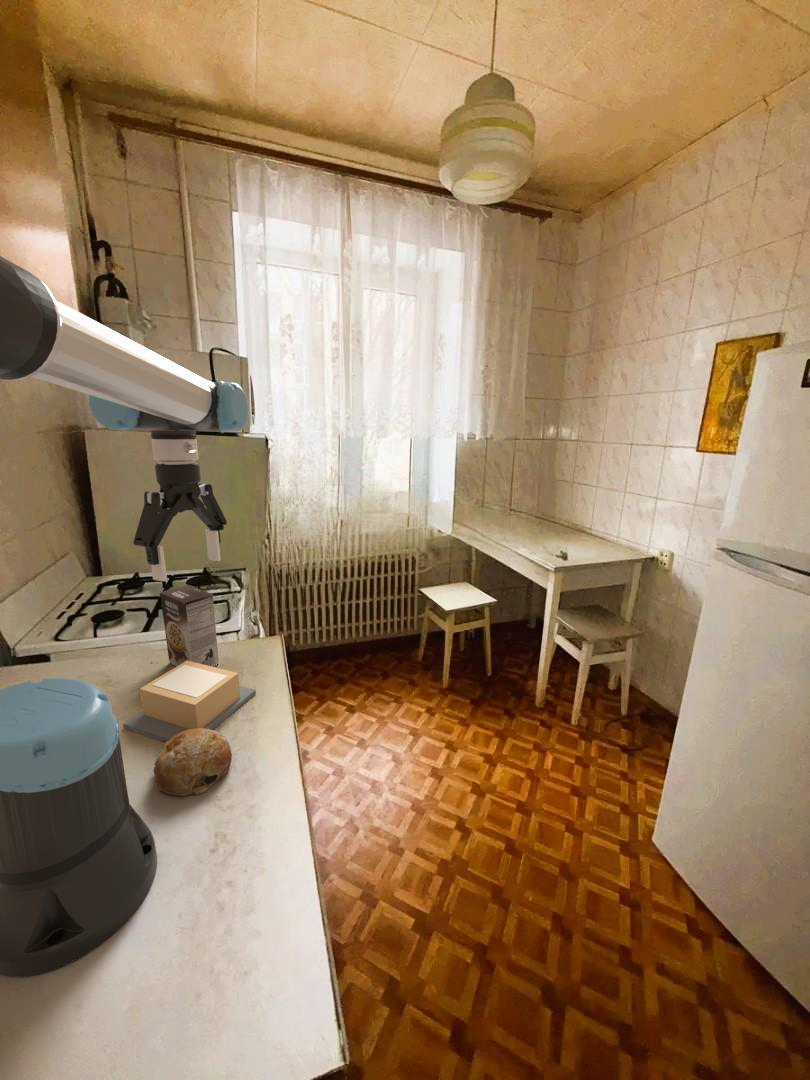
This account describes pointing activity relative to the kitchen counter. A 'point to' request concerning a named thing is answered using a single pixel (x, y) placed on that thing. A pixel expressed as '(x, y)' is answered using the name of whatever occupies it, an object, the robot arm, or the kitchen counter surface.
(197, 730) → the bread roll
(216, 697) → the base
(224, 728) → the kitchen counter surface
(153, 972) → the kitchen counter surface
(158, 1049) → the kitchen counter surface
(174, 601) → the coffee box
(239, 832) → the kitchen counter surface
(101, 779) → the robot arm
